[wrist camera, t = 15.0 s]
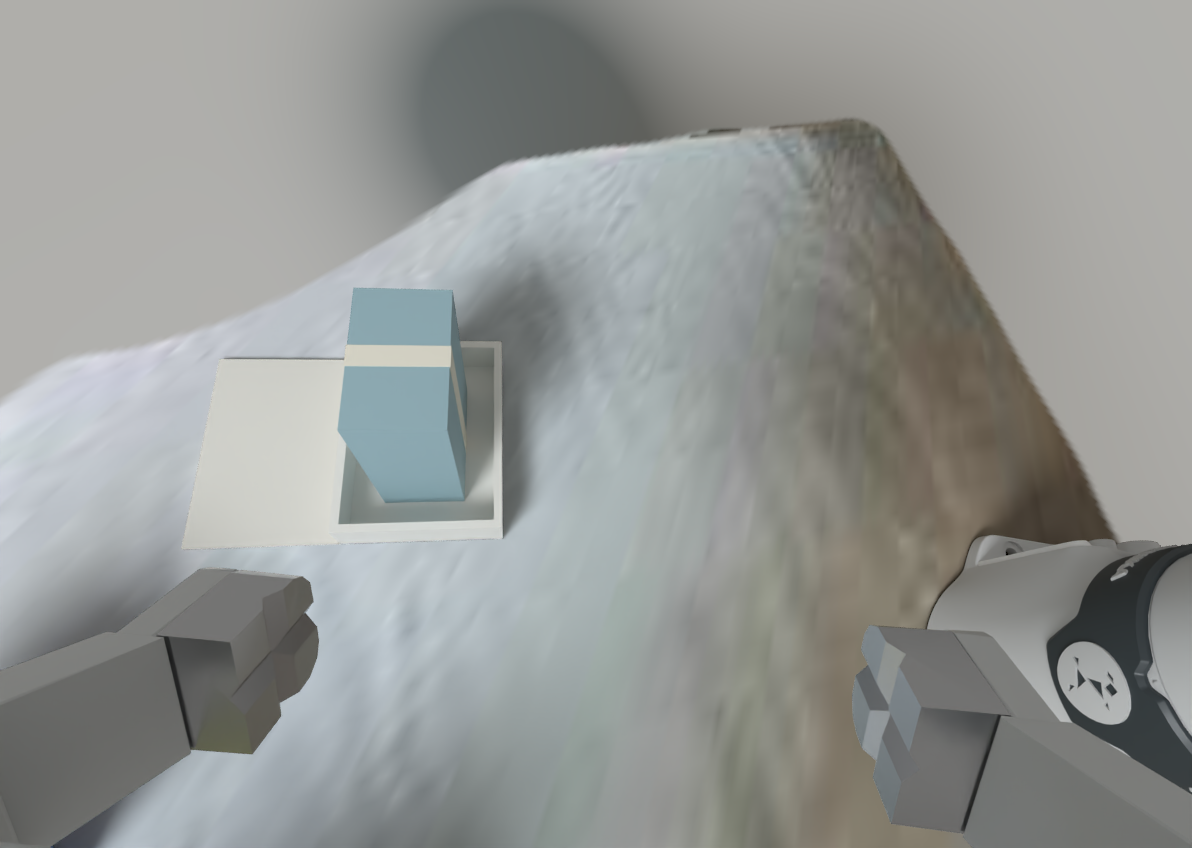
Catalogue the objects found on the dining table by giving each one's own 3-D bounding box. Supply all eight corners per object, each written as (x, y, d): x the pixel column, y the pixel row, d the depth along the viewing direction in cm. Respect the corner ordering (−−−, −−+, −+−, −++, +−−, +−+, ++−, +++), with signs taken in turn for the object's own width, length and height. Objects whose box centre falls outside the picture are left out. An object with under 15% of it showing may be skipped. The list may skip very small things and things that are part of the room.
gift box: (468, 391, 43) (453, 289, 33) (465, 501, 40) (448, 429, 29) (393, 391, 43) (352, 287, 32) (384, 503, 40) (336, 430, 29)
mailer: (502, 362, 45) (501, 341, 42) (502, 538, 40) (502, 527, 37) (221, 361, 42) (201, 338, 40) (183, 549, 37) (157, 538, 35)
